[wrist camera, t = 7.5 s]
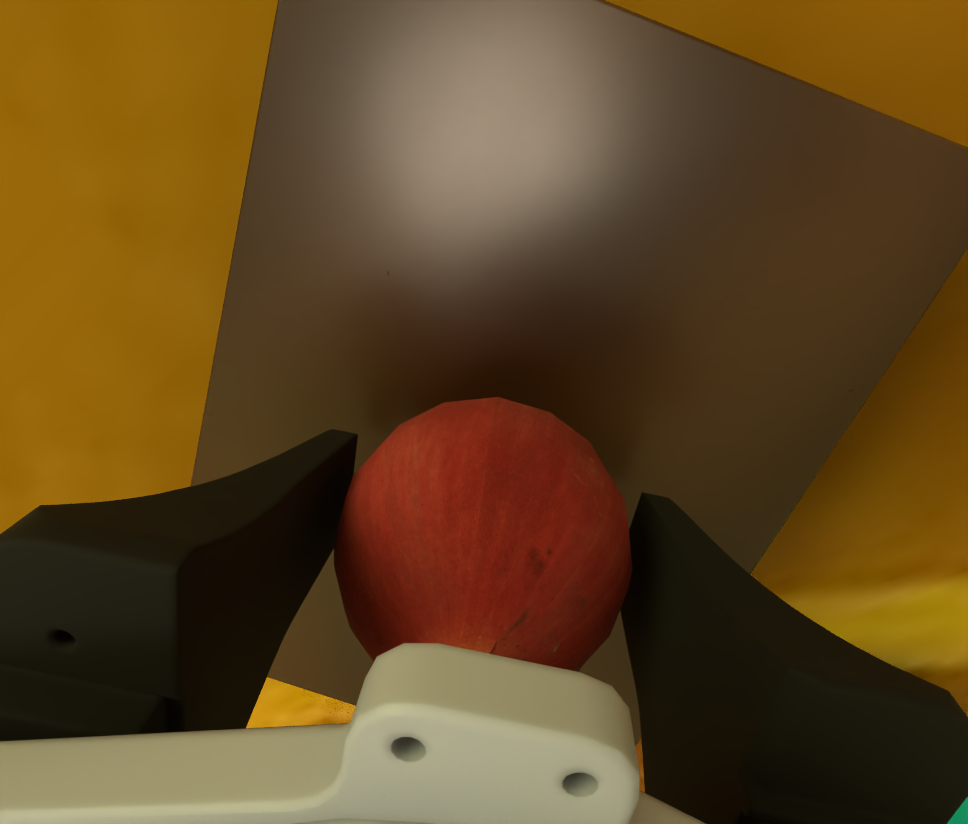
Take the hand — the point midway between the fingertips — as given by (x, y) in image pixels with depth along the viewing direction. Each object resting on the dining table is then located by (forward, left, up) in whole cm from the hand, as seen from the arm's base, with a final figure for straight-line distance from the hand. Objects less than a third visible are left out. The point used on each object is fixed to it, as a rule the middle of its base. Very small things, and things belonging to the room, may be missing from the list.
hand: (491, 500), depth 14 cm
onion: (0, 0, -2) cm, 2 cm away
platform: (0, 0, -5) cm, 5 cm away
